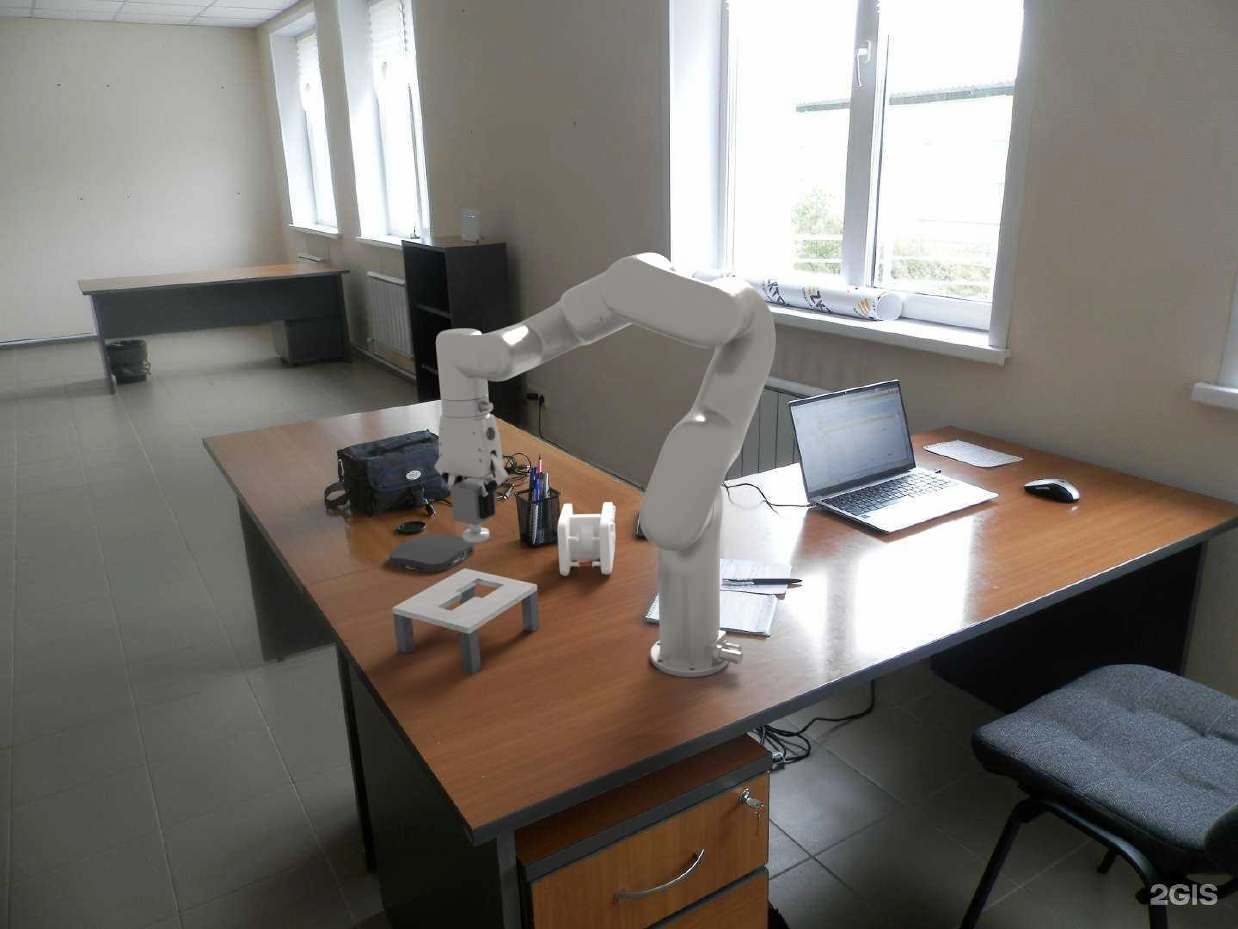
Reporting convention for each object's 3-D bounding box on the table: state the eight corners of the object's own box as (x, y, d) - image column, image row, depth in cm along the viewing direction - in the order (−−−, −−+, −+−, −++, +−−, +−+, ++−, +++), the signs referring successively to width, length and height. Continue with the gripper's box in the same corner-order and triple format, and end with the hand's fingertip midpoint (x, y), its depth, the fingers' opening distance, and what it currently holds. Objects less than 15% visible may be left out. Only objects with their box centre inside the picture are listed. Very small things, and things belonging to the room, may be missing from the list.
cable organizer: (567, 551, 188) (564, 499, 185) (617, 550, 188) (615, 498, 184) (559, 581, 174) (556, 524, 170) (613, 580, 173) (611, 523, 170)
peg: (497, 535, 151) (493, 481, 148) (478, 545, 146) (473, 490, 144) (474, 530, 153) (470, 477, 150) (455, 540, 149) (450, 485, 146)
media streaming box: (426, 542, 197) (425, 529, 196) (481, 551, 191) (480, 538, 190) (382, 566, 185) (380, 553, 184) (440, 577, 178) (438, 563, 177)
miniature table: (539, 627, 155) (536, 584, 153) (472, 674, 140) (468, 628, 138) (468, 608, 163) (464, 568, 161) (397, 651, 148) (392, 607, 146)
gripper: (522, 407, 142) (529, 514, 147) (441, 397, 151) (450, 500, 156) (492, 417, 136) (500, 529, 141) (409, 407, 145) (420, 513, 150)
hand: (474, 512), depth 148 cm, fingers closed on peg, 5 cm apart
